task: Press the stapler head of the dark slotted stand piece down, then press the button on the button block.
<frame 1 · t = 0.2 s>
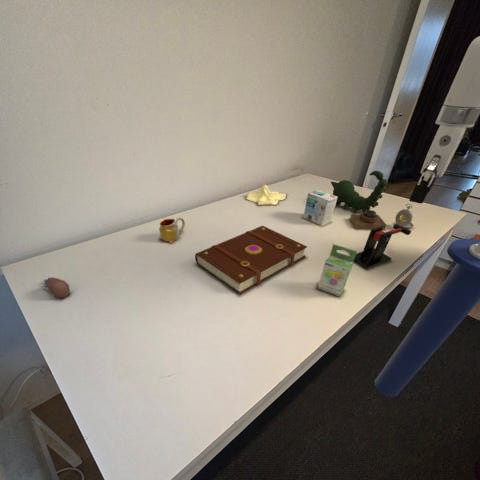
hand: (419, 196, 70), 24 cm above the table, tool pointing down, fingers open, 9 cm apart
light bulb box: (316, 220, 116), on the table
mug: (175, 236, 103), on the table
dark slotted stand piece: (369, 259, 93), on the table
ink box: (329, 290, 80), on the table
book: (251, 261, 91), on the table
button: (370, 214, 110), point 4 cm above the table, slide at 0.1 cm
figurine: (57, 290, 78), on the table
cloth: (266, 198, 134), on the table
button block: (366, 224, 113), on the table
toy figurine: (348, 208, 125), on the table
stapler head: (390, 232, 88), point 9 cm above the table, hinge at 0.0°
pocket watch: (401, 226, 113), on the table
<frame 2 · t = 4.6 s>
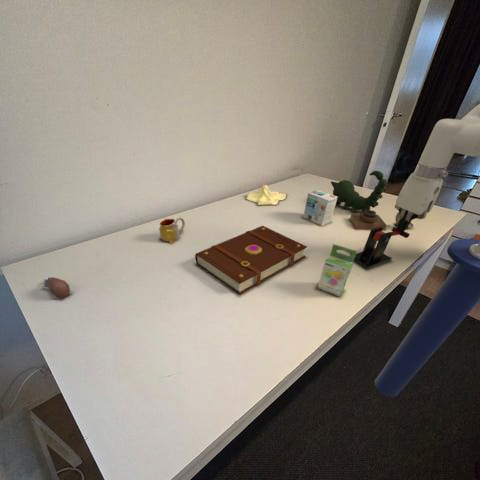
hand: (400, 230, 90), 9 cm above the table, tool pointing down, fingers closed
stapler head: (389, 234, 88), point 9 cm above the table, hinge at -5.6°, touching gripper
everything else where it was.
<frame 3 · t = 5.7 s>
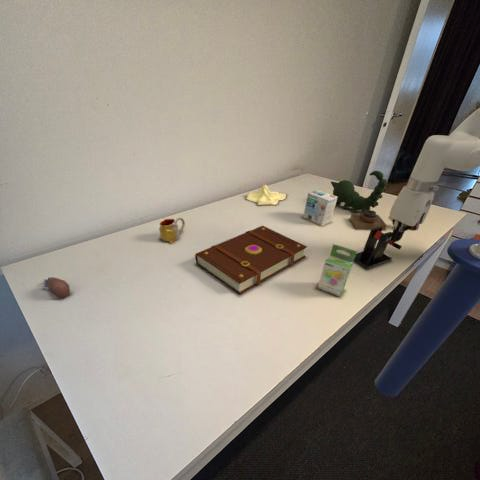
hand: (394, 240, 93), 5 cm above the table, tool pointing down, fingers closed
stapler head: (386, 239, 90), point 7 cm above the table, hinge at -28.1°, touching gripper
everything else where it was.
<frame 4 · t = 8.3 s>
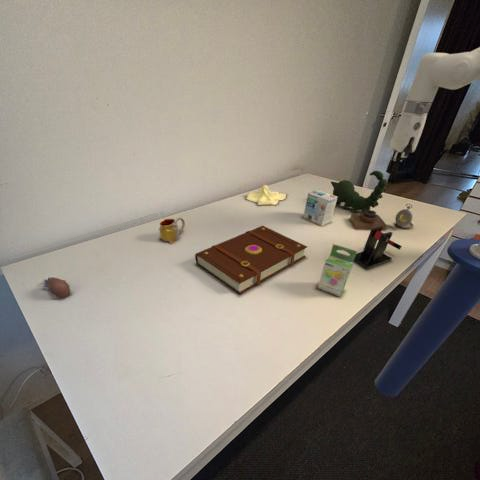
hand: (390, 172, 95), 21 cm above the table, tool pointing down, fingers closed
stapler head: (386, 239, 90), point 7 cm above the table, hinge at -28.1°
everything else where it was.
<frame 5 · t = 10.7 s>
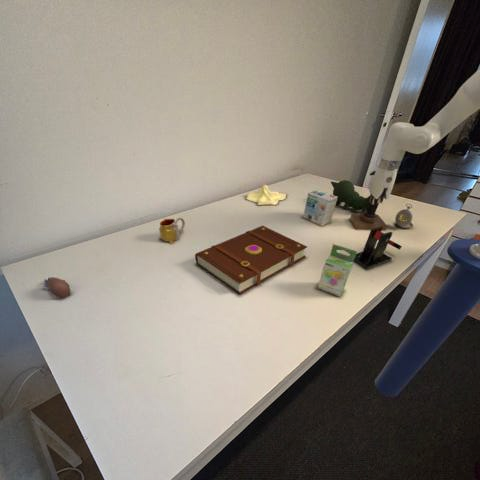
hand: (370, 213, 110), 5 cm above the table, tool pointing down, fingers closed
button: (369, 215, 111), point 4 cm above the table, slide at -0.5 cm, touching gripper
everything else where it was.
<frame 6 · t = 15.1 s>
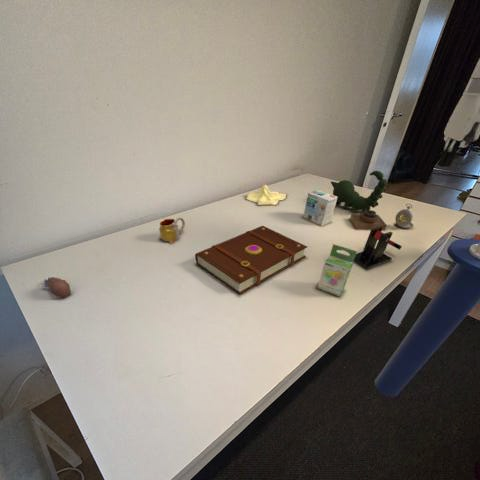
hand: (443, 165, 82), 27 cm above the table, tool pointing down, fingers closed
button: (370, 214, 110), point 4 cm above the table, slide at 0.1 cm
everything else where it was.
at the end: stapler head reached -28° during the clip, -28° at the end; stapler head at -28° (first picture: +0°); button pushed in 1.2 cm at the most during the clip, back to where it started at the end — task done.
